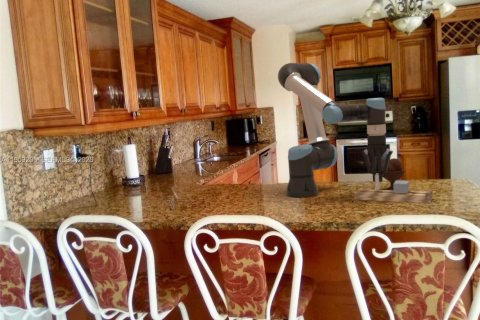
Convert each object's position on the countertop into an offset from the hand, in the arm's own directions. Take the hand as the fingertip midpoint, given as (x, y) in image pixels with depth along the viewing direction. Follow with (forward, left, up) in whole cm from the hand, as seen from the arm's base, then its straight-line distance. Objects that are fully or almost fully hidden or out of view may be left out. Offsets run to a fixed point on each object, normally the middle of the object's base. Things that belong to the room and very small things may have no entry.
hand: (377, 189), depth 177 cm
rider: (+10, 0, -3) cm, 10 cm away
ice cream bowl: (+2, +20, -4) cm, 20 cm away
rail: (+6, 0, -4) cm, 7 cm away
